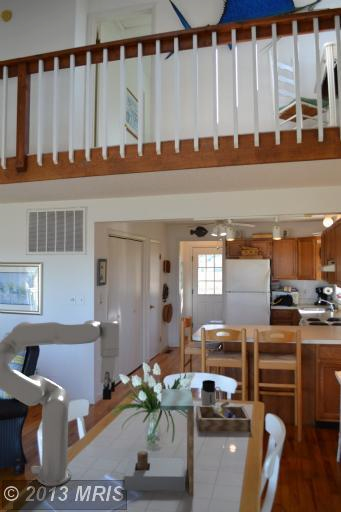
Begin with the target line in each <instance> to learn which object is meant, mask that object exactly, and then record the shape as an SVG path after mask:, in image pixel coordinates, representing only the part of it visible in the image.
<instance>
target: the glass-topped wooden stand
mask: <svg viewBox="0 0 341 512" xmlns="http://www.w3.org/2000/svg"><path fill="white" fill-rule="evenodd" d="M160 394H161V395H160V411H186V415H187V416H186V470H187V471H186V473H187V474H186V475H187V482H188V483H187V485H188V486H187V487H188V495H189V496H194V489H195V487H194V484H195V482H194V481H195V479H194V473H195V472H194V465H195V464H194V459H195V458H194V453H195V451H194V448H195V445H194V441H195V437H194V436H195V434H194V433H195V431H194V429H195V427H194V425H195V409H194V408H195V405H194V399H193V398H194V397H193V393H192V389H191V388H189V389H188V388H162V389H161V393H160Z"/></svg>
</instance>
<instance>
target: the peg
mask: <svg viewBox="0 0 341 512" xmlns="http://www.w3.org/2000/svg"><path fill="white" fill-rule="evenodd" d="M136 455H137V457H136V458H137V470H148V458H149V453H148V451H145V450H140V451H138V452H137V454H136Z"/></svg>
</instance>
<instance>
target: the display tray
mask: <svg viewBox="0 0 341 512" xmlns="http://www.w3.org/2000/svg"><path fill="white" fill-rule="evenodd" d="M218 406H219V407H221V405H218ZM195 408H196V411H195V412H196V413H195V416H196V418H195V419H196V422H197V428H198V432H199V433H202V432H206V433H207V432H217V433H218V432H220V433H221V432H222V433H223V432H224V433H231V432H232V433H245V432H246V433H251V432H252V424H251V423H252V420H251V417H250V416H249V413H248V412H247V410H246V408H245V407H244V406H243V405H227V406H224V408H226V409H227V410H229V411H230V412H232V413H233V415H234V416H235V417H236V418H215V416H216V415H217V414H215V413H214V409H213V408H212V407H211V406H202V405H196V407H195Z"/></svg>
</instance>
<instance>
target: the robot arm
mask: <svg viewBox="0 0 341 512" xmlns="http://www.w3.org/2000/svg"><path fill="white" fill-rule="evenodd" d="M98 339H100V341H99V342H100V343H99V357H100V358H101V362H100V363H101V364H100V365H101V367H100V383H101V384H102V383H103V387H102V400H104V401H107V400H109V401H110V400H112V393H115V392H116V382H115V381H116V376H117V375H116V374H117V357H119V356H120V323H119V321H116V320H105V321H103V320H101V321H100V320H87V321H85V322H84V323H81V324H80V323H79V324H63V323H59V322H53V321H52V322H51V321H50V322H39V323H35V322H34V323H31V322H28V321H23V322H20V323H19V324H17V325H15V326H14V327H13V328H12V330H11V332H10V333H9V334H7V336H5V337H4V338H3V339H2V340H1V341H0V391H3V392H4V393H6V394H8V395H9V396H11V397H12V398H14V399H15V400H18V401H19V402H20V403H23V404H24V405H26V406H29V407H32V406H33V407H34V406H36V405H38V404H40V405H42V410H41V421H42V422H41V424H42V431H41V433H42V435H41V436H42V438H41V440H42V443H41V444H42V445H41V450H42V451H41V464H40V465H32V466H31V468H30V471H31V474H32V475H37V480H38V481H39V482H40V483H42V484H43V485H45V486H44V487H56V486H60V485H64V484H66V483H67V482H68V481H70V479H71V477H72V471H71V470H70V469H69V468H68V458H69V457H68V453H69V451H68V449H69V448H68V447H69V446H68V445H69V444H68V443H69V408H70V400H71V399H70V395H69V393H68V391H67V390H66V389H64V387H61V386H59V385H58V384H57V383H55V382H54V381H52V380H50V379H48V378H47V377H45V376H42V375H39V374H33V375H29V376H27V375H25V374H23V373H22V372H20V371H19V370H17V369H14V368H12V367H10V365H9V364H10V363H11V362H13V360H14V359H15V358H16V357H17V356H18V355H19V354H20V353H21V352H22V351H23V350H24V349H25V348H27V347H34V346H35V347H36V346H43V345H44V346H46V345H47V346H49V345H60V346H61V345H67V346H68V345H70V346H71V345H83V344H84V345H85V344H92V343H94V342H96V341H97V340H98ZM38 481H37V482H38ZM43 485H42V486H43Z"/></svg>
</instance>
